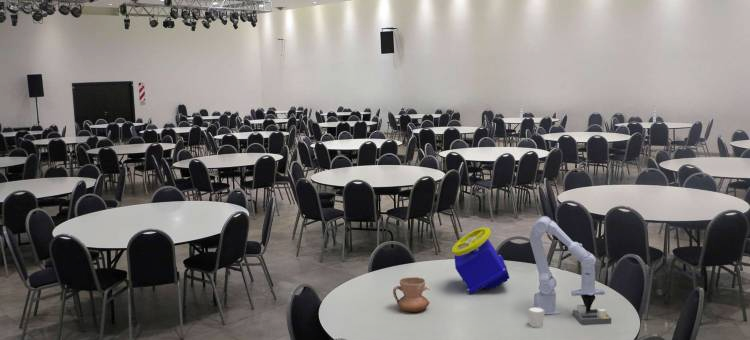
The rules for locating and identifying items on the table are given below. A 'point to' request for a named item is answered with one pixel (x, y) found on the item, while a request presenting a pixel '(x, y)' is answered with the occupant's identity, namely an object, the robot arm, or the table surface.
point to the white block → (581, 309)
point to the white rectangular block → (601, 313)
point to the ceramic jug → (412, 294)
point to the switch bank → (591, 317)
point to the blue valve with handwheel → (479, 261)
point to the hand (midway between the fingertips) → (587, 310)
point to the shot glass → (536, 316)
